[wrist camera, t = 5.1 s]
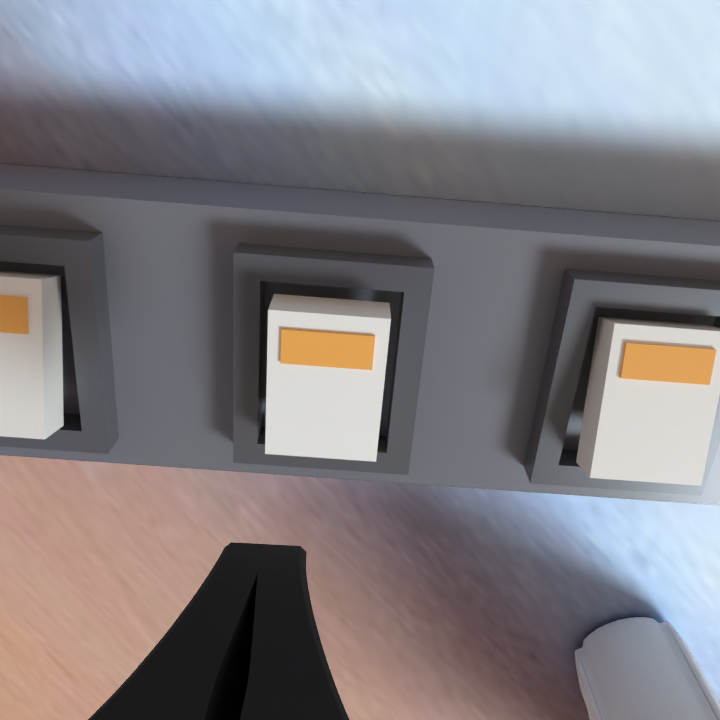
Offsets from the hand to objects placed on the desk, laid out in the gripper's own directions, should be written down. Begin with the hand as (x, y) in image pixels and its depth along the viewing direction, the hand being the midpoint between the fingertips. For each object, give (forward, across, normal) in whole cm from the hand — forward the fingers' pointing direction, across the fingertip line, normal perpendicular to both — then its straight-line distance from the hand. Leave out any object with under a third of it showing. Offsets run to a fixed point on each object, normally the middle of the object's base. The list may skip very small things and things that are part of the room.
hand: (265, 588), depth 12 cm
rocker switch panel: (+9, -4, -2) cm, 10 cm away
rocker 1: (+5, +7, -2) cm, 9 cm away
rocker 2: (+5, -8, -2) cm, 10 cm away
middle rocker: (+5, -1, -2) cm, 5 cm away
